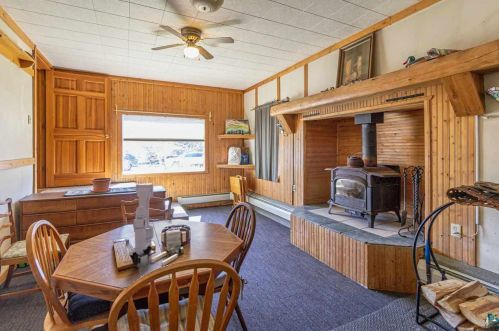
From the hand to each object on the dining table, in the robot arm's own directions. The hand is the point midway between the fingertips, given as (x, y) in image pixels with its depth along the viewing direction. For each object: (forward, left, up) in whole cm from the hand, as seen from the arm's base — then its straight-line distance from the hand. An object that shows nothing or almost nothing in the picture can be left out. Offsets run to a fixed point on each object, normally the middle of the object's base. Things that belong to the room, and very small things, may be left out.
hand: (140, 262), depth 148 cm
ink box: (0, +27, -2) cm, 27 cm away
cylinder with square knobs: (+7, +21, -2) cm, 22 cm away
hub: (0, 0, -2) cm, 2 cm away
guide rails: (+7, +11, -2) cm, 13 cm away
